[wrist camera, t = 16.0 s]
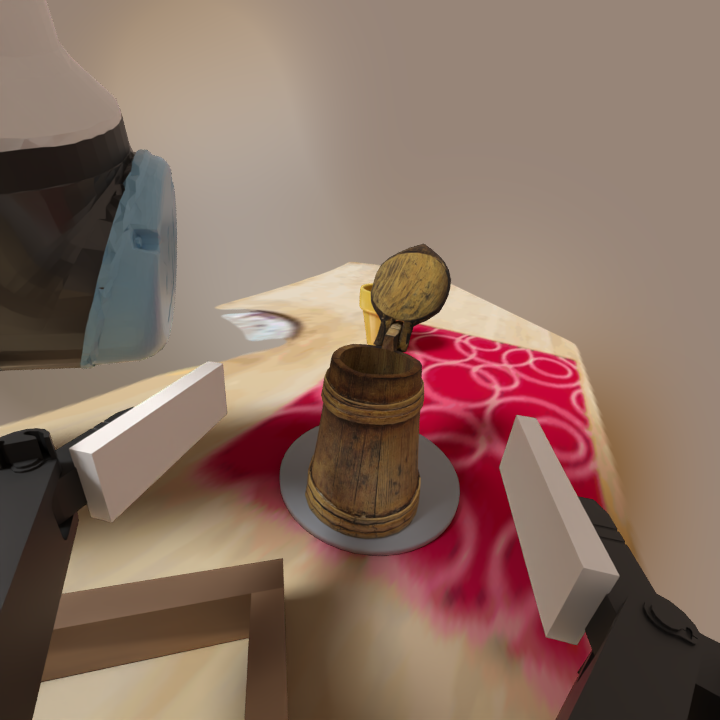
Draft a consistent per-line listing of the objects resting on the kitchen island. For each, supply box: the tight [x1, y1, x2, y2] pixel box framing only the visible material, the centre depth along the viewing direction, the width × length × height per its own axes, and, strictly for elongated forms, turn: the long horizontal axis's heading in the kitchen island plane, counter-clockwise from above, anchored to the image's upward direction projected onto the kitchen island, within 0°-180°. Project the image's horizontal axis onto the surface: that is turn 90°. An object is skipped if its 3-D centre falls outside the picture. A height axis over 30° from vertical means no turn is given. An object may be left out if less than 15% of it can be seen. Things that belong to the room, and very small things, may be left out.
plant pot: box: [360, 283, 403, 346], centre depth 56 cm, size 10×10×10 cm
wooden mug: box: [305, 244, 451, 539], centre depth 25 cm, size 9×14×18 cm, turn 157°
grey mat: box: [280, 425, 460, 556], centre depth 28 cm, size 15×15×1 cm
